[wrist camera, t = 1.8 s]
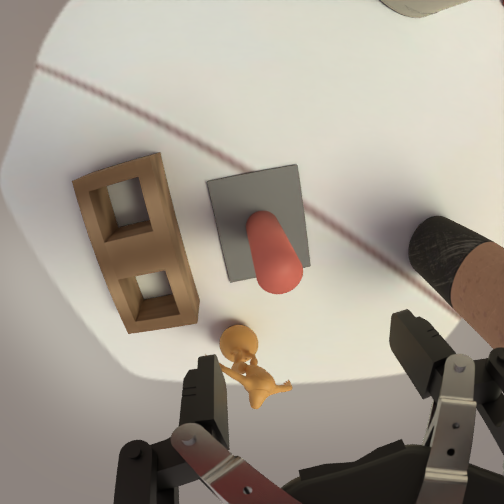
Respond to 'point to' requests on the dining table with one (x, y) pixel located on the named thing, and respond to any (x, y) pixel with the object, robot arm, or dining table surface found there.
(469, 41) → the dining table surface
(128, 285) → the hole block
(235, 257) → the mat
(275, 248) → the peg
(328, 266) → the dining table surface
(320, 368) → the dining table surface
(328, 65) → the dining table surface
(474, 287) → the travel mug
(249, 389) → the figurine
